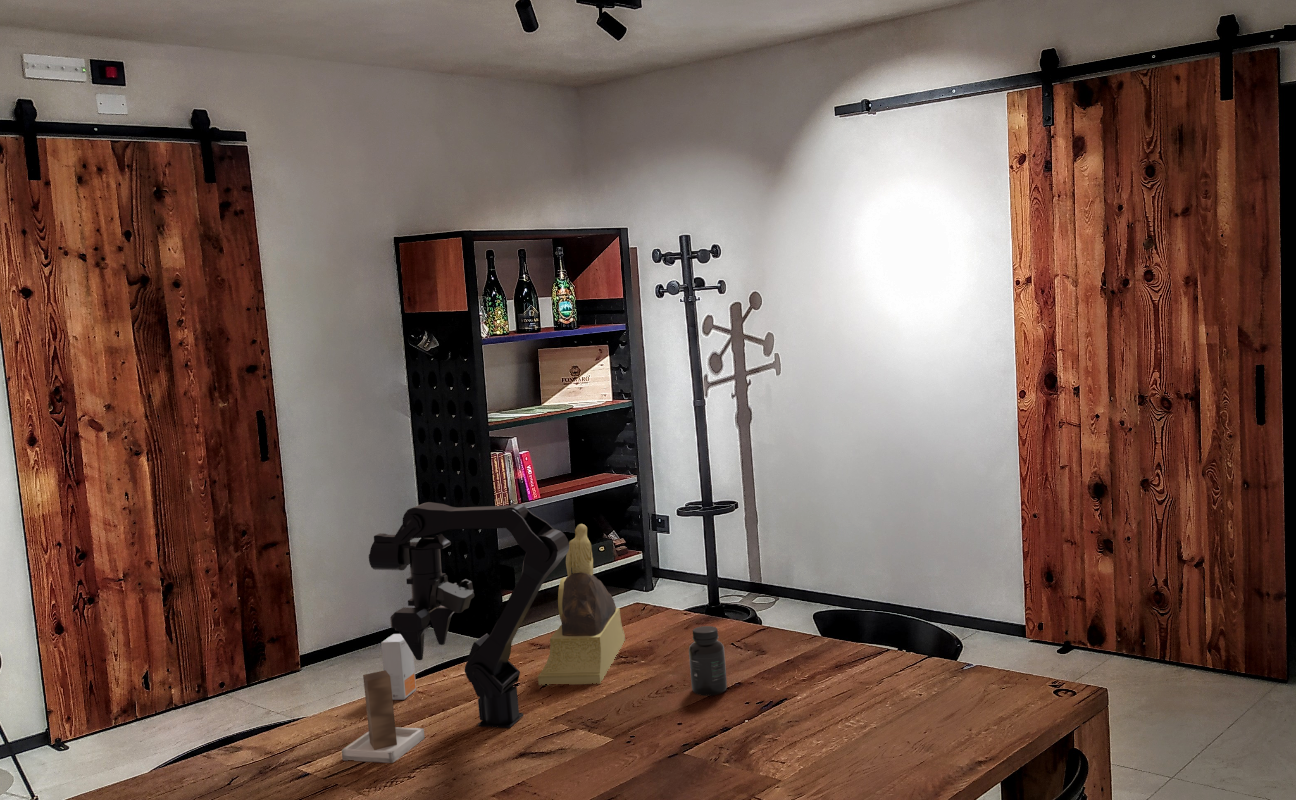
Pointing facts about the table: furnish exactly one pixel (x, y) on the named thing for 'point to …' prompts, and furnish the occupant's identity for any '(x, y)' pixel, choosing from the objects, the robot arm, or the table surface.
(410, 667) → the skincare box
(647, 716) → the table surface
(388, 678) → the wooden block
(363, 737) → the tray
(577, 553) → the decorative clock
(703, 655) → the supplement bottle
